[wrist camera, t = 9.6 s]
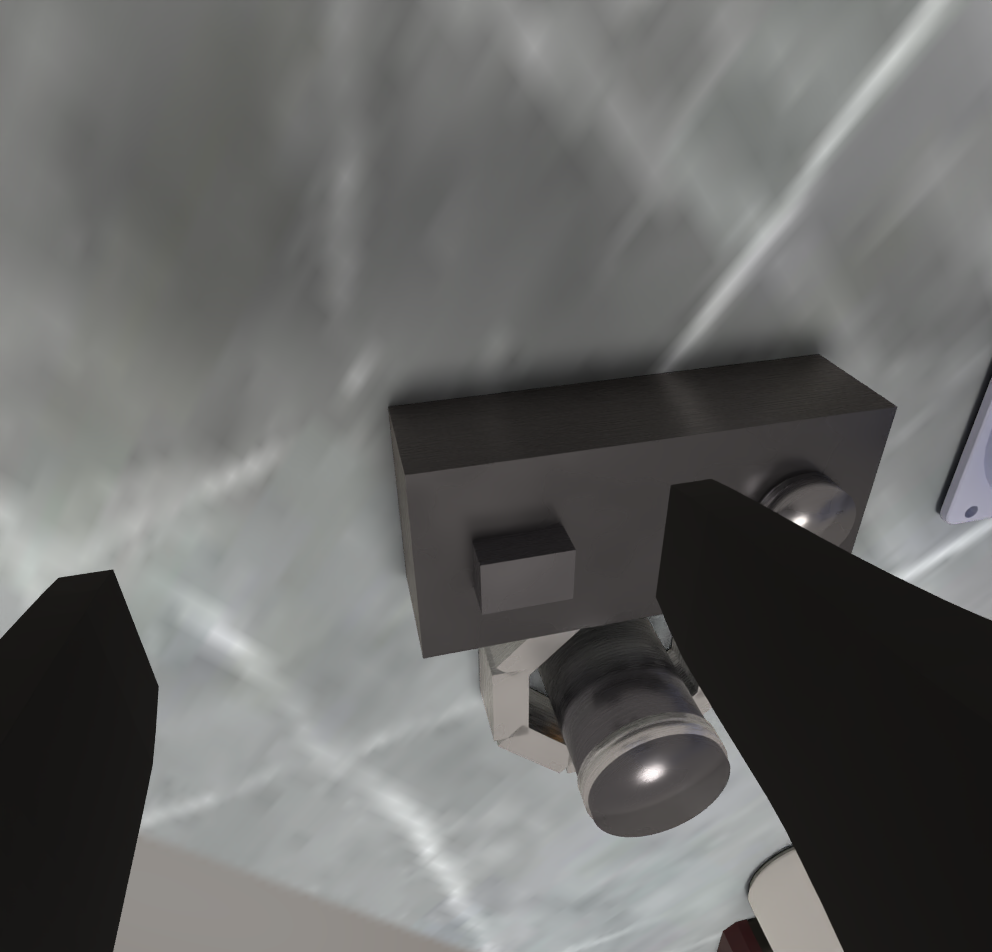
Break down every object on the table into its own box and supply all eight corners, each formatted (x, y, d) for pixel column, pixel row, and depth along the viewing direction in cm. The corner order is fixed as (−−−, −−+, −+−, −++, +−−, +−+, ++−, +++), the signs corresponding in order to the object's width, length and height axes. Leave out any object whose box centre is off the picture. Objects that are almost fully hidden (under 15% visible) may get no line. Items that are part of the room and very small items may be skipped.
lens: (672, 603, 27) (758, 741, 22) (625, 694, 29) (693, 837, 24) (557, 595, 25) (622, 741, 20) (516, 691, 27) (566, 844, 22)
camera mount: (818, 354, 22) (924, 424, 19) (739, 688, 30) (801, 783, 27) (388, 406, 20) (410, 499, 16) (425, 754, 28) (446, 868, 24)
